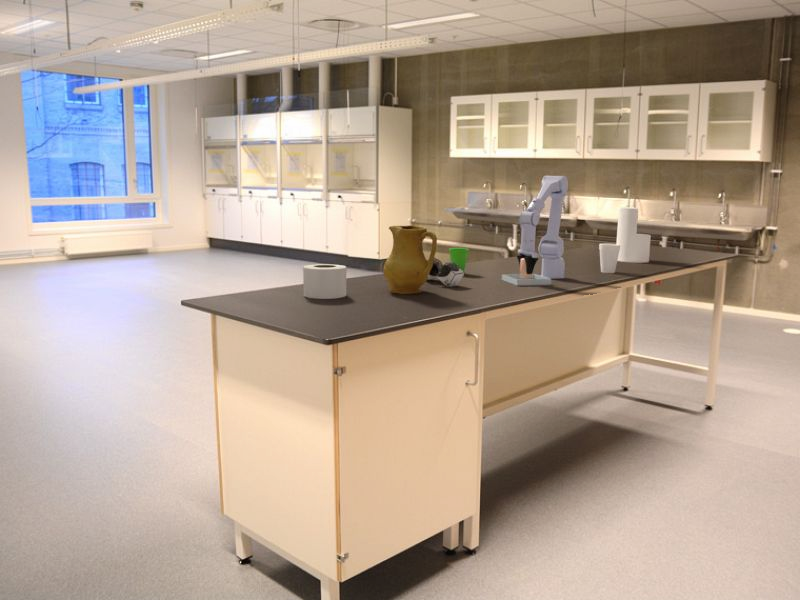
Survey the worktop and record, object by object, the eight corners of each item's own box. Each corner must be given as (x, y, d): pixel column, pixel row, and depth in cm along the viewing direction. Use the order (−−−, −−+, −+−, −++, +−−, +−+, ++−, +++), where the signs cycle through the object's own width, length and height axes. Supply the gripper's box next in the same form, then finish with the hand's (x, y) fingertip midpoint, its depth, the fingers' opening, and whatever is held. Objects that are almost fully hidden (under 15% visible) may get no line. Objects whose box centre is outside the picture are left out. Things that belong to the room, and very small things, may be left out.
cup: (468, 272, 334) (469, 248, 332) (468, 275, 325) (468, 250, 323) (448, 271, 335) (449, 247, 333) (447, 274, 326) (448, 249, 324)
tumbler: (528, 276, 310) (529, 257, 308) (534, 278, 305) (535, 259, 303) (517, 277, 308) (518, 258, 307) (523, 279, 303) (523, 259, 302)
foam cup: (620, 272, 347) (622, 244, 344) (615, 274, 339) (617, 245, 337) (601, 270, 352) (602, 243, 349) (594, 272, 344) (596, 244, 342)
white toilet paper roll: (299, 293, 270) (298, 263, 268) (339, 291, 276) (339, 262, 274) (309, 300, 256) (309, 269, 254) (351, 298, 261) (351, 268, 260)
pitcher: (405, 285, 290) (407, 222, 285) (440, 293, 278) (443, 227, 272) (373, 290, 279) (375, 225, 273) (408, 300, 266) (410, 231, 260)
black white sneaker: (414, 280, 308) (415, 256, 307) (434, 279, 313) (435, 255, 311) (446, 289, 286) (447, 263, 285) (468, 287, 291) (469, 262, 290)
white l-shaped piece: (617, 261, 387) (621, 208, 382) (613, 258, 404) (617, 206, 399) (651, 263, 384) (655, 209, 379) (646, 259, 401) (650, 207, 396)
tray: (534, 279, 316) (534, 274, 316) (551, 284, 302) (551, 279, 301) (501, 280, 312) (502, 274, 312) (516, 285, 298) (517, 279, 297)
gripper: (511, 238, 310) (510, 270, 312) (526, 242, 296) (525, 275, 298) (527, 238, 312) (525, 270, 314) (542, 242, 298) (541, 275, 300)
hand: (526, 273), depth 306 cm, fingers closed on tumbler, 5 cm apart
